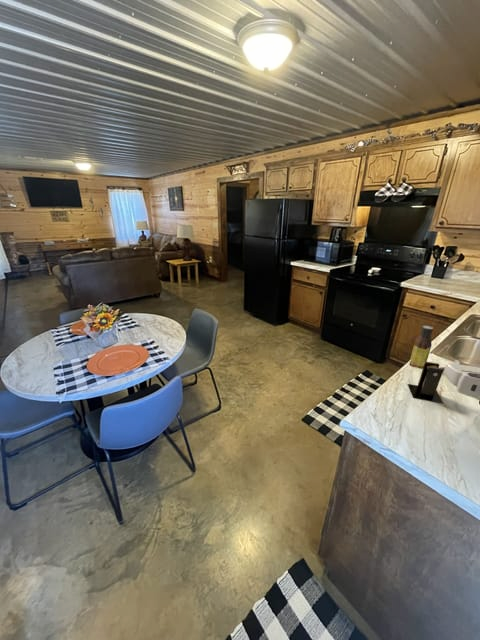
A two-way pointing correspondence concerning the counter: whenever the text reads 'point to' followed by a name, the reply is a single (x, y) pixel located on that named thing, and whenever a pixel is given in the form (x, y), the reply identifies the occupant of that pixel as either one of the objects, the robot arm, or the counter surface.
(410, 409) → the counter surface
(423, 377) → the bracket
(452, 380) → the robot arm
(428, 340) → the sauce bottle
